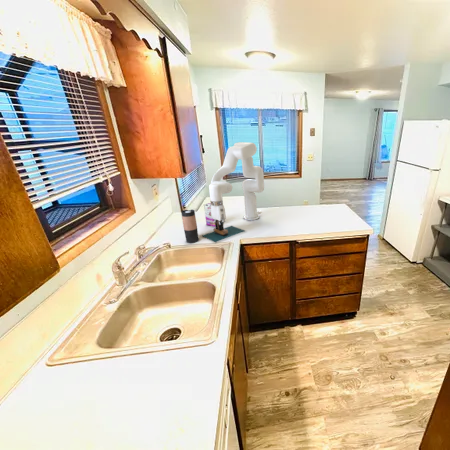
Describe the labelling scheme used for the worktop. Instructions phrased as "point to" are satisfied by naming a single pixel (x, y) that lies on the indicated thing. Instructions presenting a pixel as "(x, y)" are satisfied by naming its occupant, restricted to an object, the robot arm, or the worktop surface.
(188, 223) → the travel mug
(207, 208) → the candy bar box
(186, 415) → the worktop surface
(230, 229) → the mat
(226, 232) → the brush
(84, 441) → the worktop surface
